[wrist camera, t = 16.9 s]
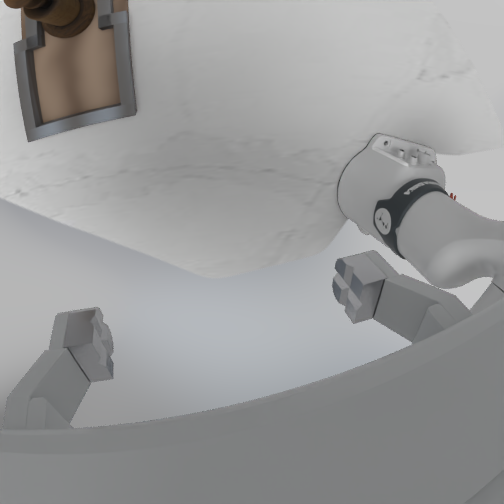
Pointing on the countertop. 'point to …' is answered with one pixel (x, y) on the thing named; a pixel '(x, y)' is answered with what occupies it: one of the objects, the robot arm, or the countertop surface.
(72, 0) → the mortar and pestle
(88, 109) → the tray
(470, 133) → the countertop surface
